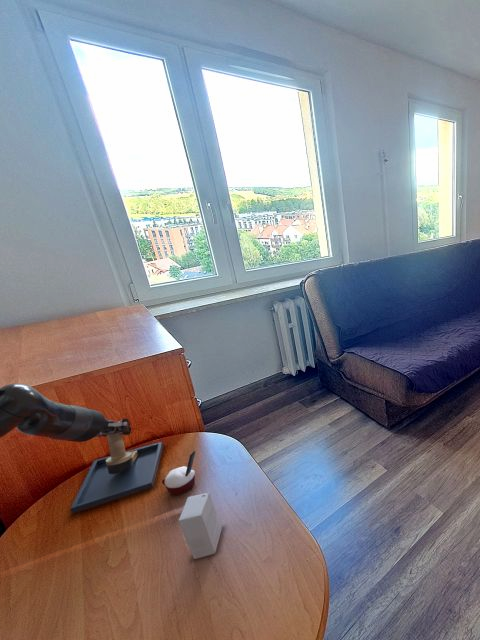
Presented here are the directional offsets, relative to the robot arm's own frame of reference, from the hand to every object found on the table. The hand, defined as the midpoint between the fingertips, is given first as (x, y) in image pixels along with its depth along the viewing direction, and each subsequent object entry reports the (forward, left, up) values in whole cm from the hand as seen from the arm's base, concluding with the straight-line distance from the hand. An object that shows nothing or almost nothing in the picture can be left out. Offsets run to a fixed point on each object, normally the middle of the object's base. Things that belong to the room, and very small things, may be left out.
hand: (121, 432), depth 92 cm
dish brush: (-1, -5, -8) cm, 10 cm away
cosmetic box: (+20, -39, -11) cm, 45 cm away
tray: (-1, -6, -11) cm, 12 cm away
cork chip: (-1, 0, -10) cm, 10 cm away
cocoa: (+14, -19, -11) cm, 26 cm away
